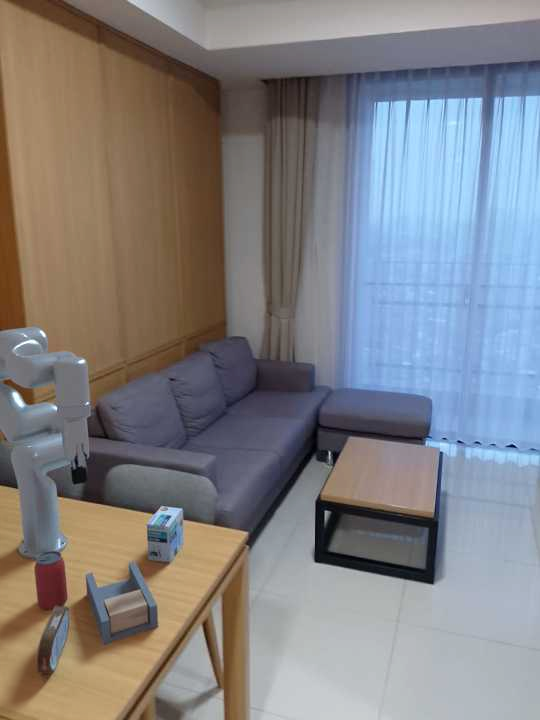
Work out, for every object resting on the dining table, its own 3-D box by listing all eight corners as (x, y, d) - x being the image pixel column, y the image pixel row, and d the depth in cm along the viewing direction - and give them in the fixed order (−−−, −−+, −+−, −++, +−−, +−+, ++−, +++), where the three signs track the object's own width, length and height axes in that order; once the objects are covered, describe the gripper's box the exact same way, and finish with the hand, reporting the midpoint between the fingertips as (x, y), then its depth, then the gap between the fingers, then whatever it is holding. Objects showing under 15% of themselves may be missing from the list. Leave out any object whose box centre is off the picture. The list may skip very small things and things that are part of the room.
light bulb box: (171, 563, 149) (169, 527, 146) (147, 560, 150) (145, 524, 148) (184, 542, 159) (183, 507, 157) (162, 539, 160) (161, 505, 158)
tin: (58, 630, 124) (55, 597, 122) (73, 629, 124) (70, 596, 122) (36, 684, 109) (33, 647, 107) (53, 683, 110) (49, 646, 108)
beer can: (37, 597, 135) (33, 553, 132) (66, 590, 137) (62, 547, 135) (38, 614, 129) (33, 568, 126) (68, 607, 131) (64, 561, 129)
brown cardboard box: (105, 617, 126) (103, 599, 125) (141, 606, 130) (140, 589, 129) (111, 633, 121) (109, 615, 120) (148, 622, 125) (147, 604, 124)
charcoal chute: (87, 594, 136) (85, 574, 135) (136, 580, 141) (135, 561, 140) (103, 644, 120) (101, 622, 118) (158, 626, 125) (157, 605, 124)
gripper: (52, 403, 136) (58, 473, 140) (61, 421, 123) (67, 498, 127) (84, 399, 139) (89, 467, 143) (96, 416, 126) (101, 491, 130)
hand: (79, 482), depth 135 cm, fingers closed
